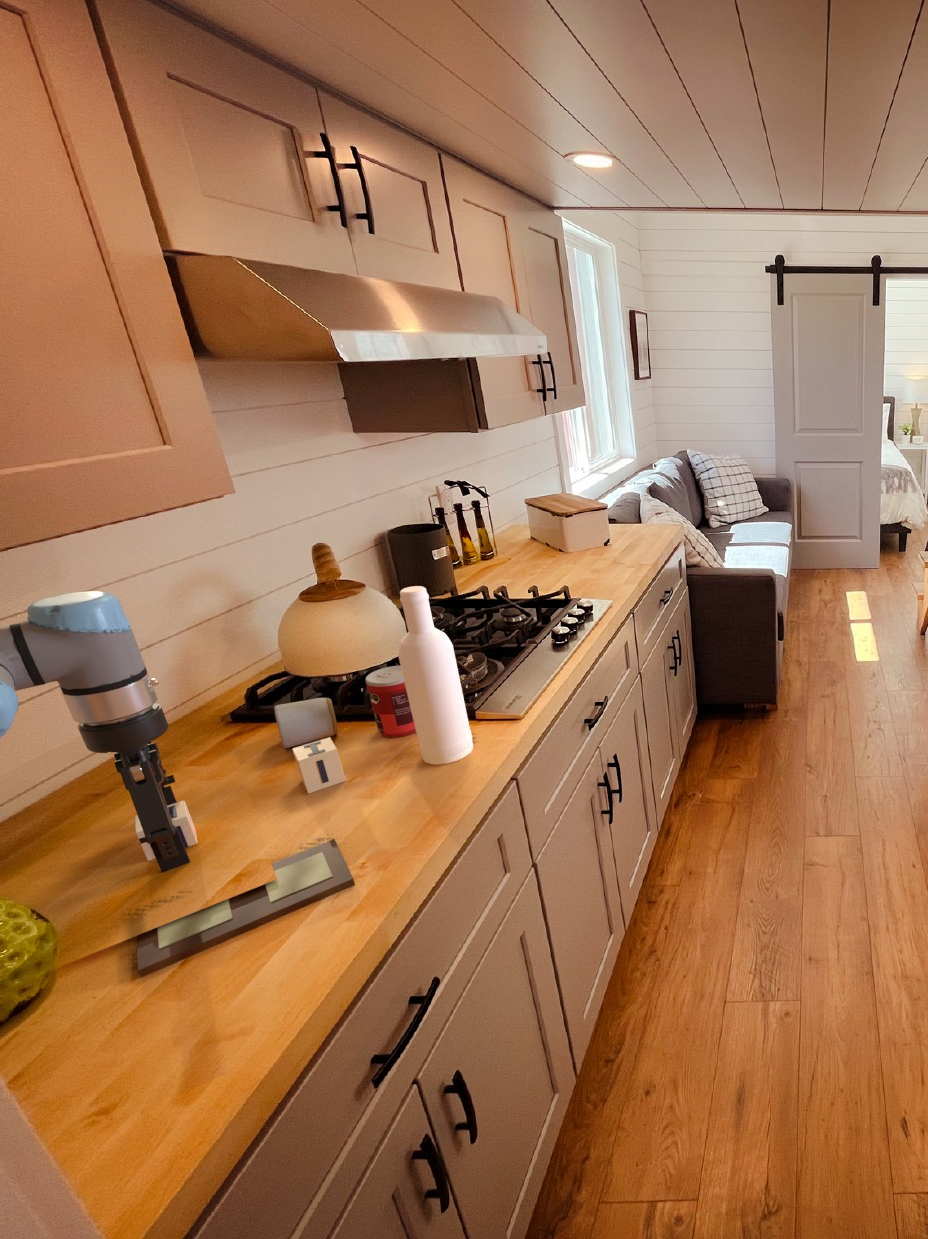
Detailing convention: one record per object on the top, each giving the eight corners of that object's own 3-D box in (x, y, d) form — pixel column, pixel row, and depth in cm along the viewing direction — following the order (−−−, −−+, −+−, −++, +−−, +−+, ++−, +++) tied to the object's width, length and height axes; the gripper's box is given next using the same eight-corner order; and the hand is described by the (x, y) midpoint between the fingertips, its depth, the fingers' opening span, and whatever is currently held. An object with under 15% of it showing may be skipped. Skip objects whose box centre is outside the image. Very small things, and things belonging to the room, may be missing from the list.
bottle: (425, 771, 112) (385, 600, 101) (419, 750, 118) (380, 587, 107) (478, 755, 116) (445, 591, 106) (469, 736, 122) (437, 578, 112)
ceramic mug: (342, 739, 120) (332, 701, 118) (285, 755, 115) (272, 716, 113) (335, 718, 128) (325, 681, 125) (281, 732, 123) (269, 694, 120)
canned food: (389, 719, 128) (376, 666, 124) (435, 715, 129) (423, 663, 125) (370, 740, 121) (356, 684, 117) (419, 736, 122) (406, 681, 118)
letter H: (151, 870, 89) (135, 832, 87) (149, 851, 93) (134, 815, 91) (201, 852, 93) (186, 815, 91) (198, 835, 96) (184, 799, 94)
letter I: (308, 794, 105) (297, 760, 103) (302, 780, 109) (291, 748, 107) (346, 781, 109) (336, 748, 107) (339, 768, 112) (329, 736, 110)
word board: (141, 977, 74) (137, 970, 74) (137, 922, 81) (134, 915, 81) (355, 884, 87) (353, 878, 87) (336, 844, 95) (334, 837, 94)
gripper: (164, 737, 80) (221, 881, 87) (155, 673, 96) (203, 800, 103) (72, 762, 75) (141, 913, 82) (78, 690, 91) (135, 822, 98)
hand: (176, 850), depth 93 cm, fingers open, 12 cm apart
